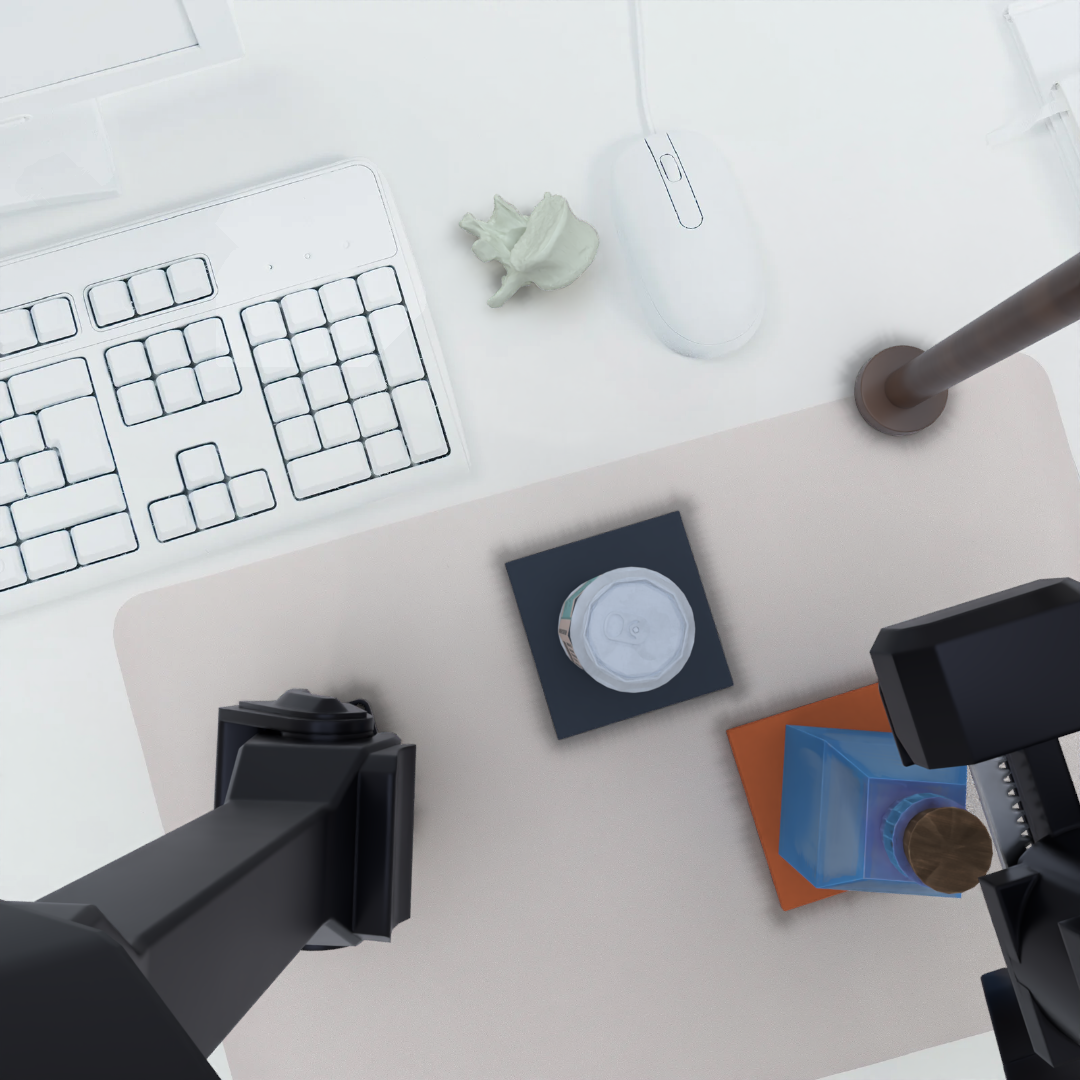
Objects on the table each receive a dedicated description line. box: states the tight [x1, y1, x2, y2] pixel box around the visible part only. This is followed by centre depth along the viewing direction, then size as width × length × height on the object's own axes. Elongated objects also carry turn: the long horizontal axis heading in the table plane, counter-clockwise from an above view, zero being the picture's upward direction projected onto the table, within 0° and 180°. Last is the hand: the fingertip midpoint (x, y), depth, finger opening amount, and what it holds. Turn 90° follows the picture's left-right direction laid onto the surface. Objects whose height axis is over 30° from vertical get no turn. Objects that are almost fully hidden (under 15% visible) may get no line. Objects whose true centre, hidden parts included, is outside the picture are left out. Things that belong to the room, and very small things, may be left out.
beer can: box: [558, 567, 695, 693], centre depth 44 cm, size 5×5×12 cm
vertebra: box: [458, 191, 600, 309], centre depth 50 cm, size 6×7×4 cm
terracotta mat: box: [725, 682, 892, 912], centre depth 50 cm, size 9×9×1 cm
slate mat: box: [504, 510, 735, 741], centre depth 50 cm, size 9×9×1 cm
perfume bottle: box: [779, 725, 994, 899], centre depth 44 cm, size 6×6×12 cm
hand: (954, 851), depth 37 cm, fingers open, 9 cm apart
